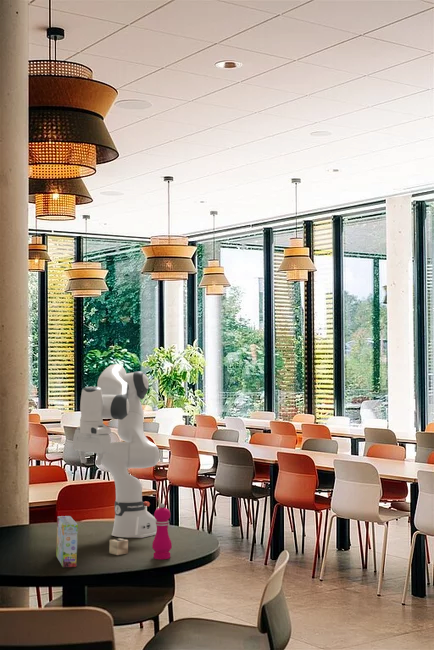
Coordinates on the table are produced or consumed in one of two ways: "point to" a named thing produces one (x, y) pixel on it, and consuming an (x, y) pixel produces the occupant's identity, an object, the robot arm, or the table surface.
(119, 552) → the letter cube
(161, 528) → the pepper mill
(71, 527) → the snack box
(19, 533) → the table surface
